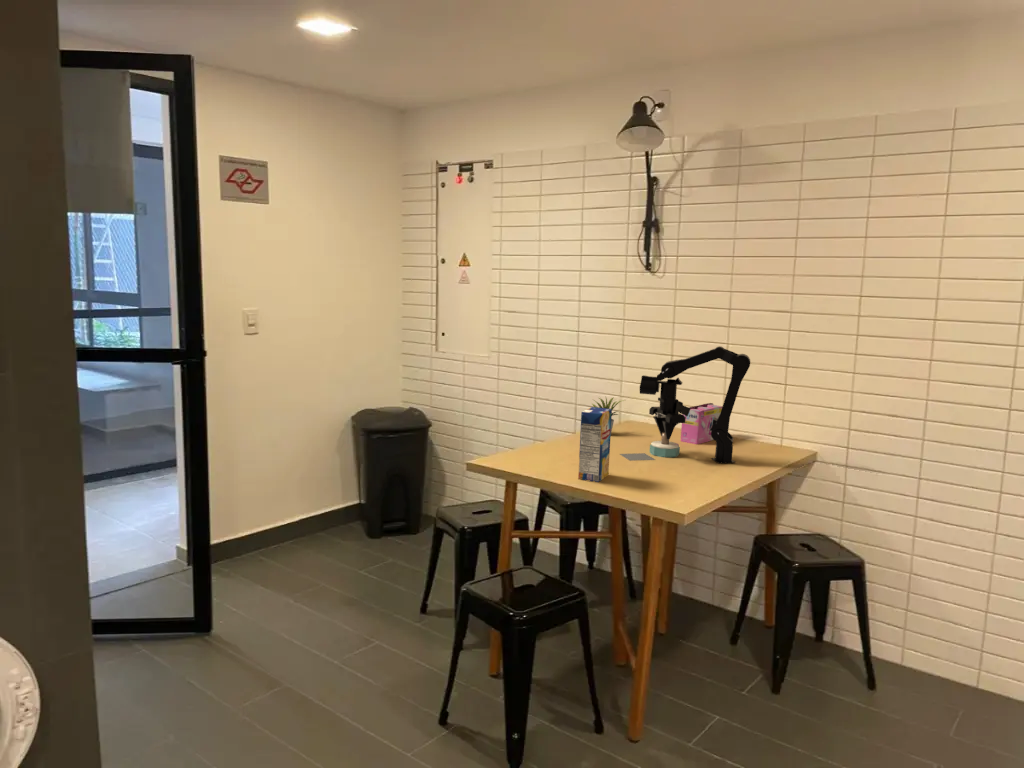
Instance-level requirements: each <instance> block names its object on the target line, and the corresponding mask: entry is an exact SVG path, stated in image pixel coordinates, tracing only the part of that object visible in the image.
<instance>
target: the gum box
mask: <svg viewBox="0 0 1024 768" xmlns="http://www.w3.org/2000/svg"><path fill="white" fill-rule="evenodd" d="M687 407H688V408H691V409H690V412H689V414H688V416H686V415H684V416H685V417H686V420H685V423H681V430H680V431H681V432H680V442H683V443H687V444H694V445H701V444H703V443H707V442H708V443H709V442H710V441H715V440H714V439H713V438H712V436H711V431H712V430H711V431H710V428H711V426H712V424H713V419H714V417H715V418H717V419H718V417H719V415H720V413H721V410H722V407H723V405H722V406H721V405H717V404H714V403H713V402H712V403H711V402H708V403H703V404H699V405H695V406H687ZM682 415H683V414H682Z"/></svg>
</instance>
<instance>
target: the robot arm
mask: <svg viewBox="0 0 1024 768" xmlns="http://www.w3.org/2000/svg"><path fill="white" fill-rule="evenodd" d="M718 359H719V360H722V361H723V362H725V363H727V364H729V365H731V366H732V371H731V378H730V381H729V385H728V388H727V391H726V395H725V398H724V401H723V403H722V406H723V407H722V410H721V413H720V415H719V417H718V419H717V418H715V417H714V419H713V424H712V426H711V428H710V431H711V430H712V431H711V436H712V438H713V439H714V440H713V441H715V455H714V457H711V458H710V459H711V460H712V461H714V462H716V463H718V464H736V461H735V460H733V452H734V451H733V450H734V449H733V447H734V445H733V443H734V437H733V435H732V434H731V433H730V432H729V430H730V429H729V427H730V419H731V416H732V412H733V409H734V407H735V406H734V405H735V402H736V399H737V396H738V394H739V389H740V388H741V384H742V381H743V379H744V377H745V376H746V374H747V372H748V370H749V368H750V366H751V358H750V357H749V356H748V355H747V354H745V353H739V354H738V353H736V352H734V351H731V350H729V349H727V348H724V347H723V346H717V347H714V348H712V349H710V350H707V351H705V352H701V353H698V354H695V355H693V356H690V357H687V358H681V359H675V360H668V361H666V362H665V363H664V364H663V365H662V366H661V370H660V371H661V372H660V373H657V374H656V376H648V375H646V374H645V375H641V380H640V383H639V394H641V395H650V396H651V395H653V396H654V395H655V396H656V395H657V393H660V394H659V397H657V401H658V402H659V406H651V407H649V413H648V414H649V415H652V416H653V420H654V421H655V424H656V427H657V428H658V431H659V434H660V436H661V437H662V433H663V432H665V434H666V438H667V439H669V440H670V439H671V437H672V434H673V432H674V430H675V428H676V426H678V424H682V423H685V420H686V417H685V416H684V415H686V416H688V414H689V412H690V409H691V408H688V407H689V406H685V405H684V402H682V401H679V399H677V389H678V388H677V387H678V386H682V385H683V381H681V380H680V378H679V377H677V376H678V375H680V374H682V373H683V372H685V371H687V370H689V369H692V368H695V367H697V366H701V365H703V364H705V363H706V364H707V363H709V362H712V361H714V360H718ZM675 377H677V378H676V379H672V378H675ZM665 379H667V380H665ZM682 414H683V415H682Z"/></svg>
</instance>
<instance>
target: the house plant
mask: <svg viewBox="0 0 1024 768" xmlns="http://www.w3.org/2000/svg"><path fill="white" fill-rule="evenodd" d="M598 400H599V401H600V402H601V403H599V402H598V401H596V400H595V399H593V401H594V402H595V403H596V404H597V405H598V406H597V405H596V404H594V403H591V405H592V407H597V408H606V409H612V417H613V416H619V414H621V412H620V411H614V412H613V409H614V408H615V407H616V406H617V405H619V404H620V403H621V402H624V401H626V399H625V400H624V399H623V400H619V401H616V400H615V398H614V397H611V398H610V399H609V401H608V398H607V396H605V401H604V400H603V399H602V398H601V397H598ZM613 401H614V402H613ZM601 404H602V405H601ZM618 413H619V414H618ZM614 422H615V420H614V419H613V418H611V433H612V432H613V426H614Z"/></svg>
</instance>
